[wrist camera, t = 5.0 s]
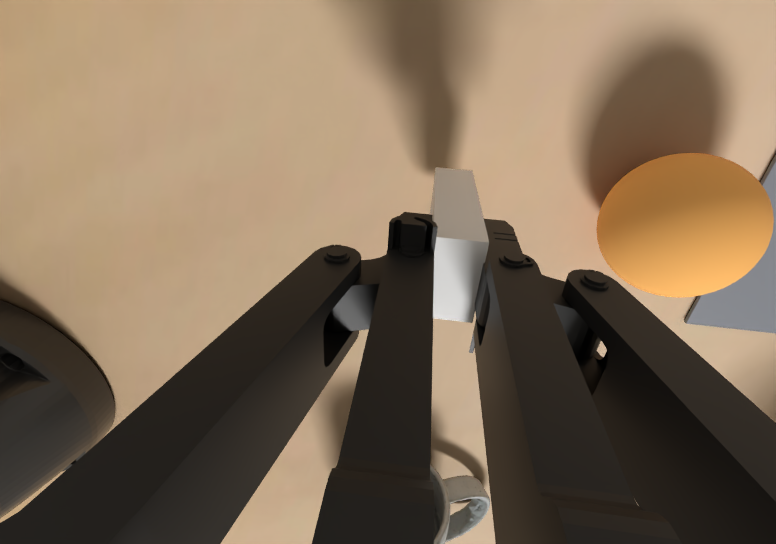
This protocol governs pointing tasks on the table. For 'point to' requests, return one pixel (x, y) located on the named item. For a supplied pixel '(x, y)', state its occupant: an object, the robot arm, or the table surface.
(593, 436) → the robot arm
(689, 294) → the ball
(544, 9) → the table surface
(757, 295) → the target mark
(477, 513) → the ceramic mug
